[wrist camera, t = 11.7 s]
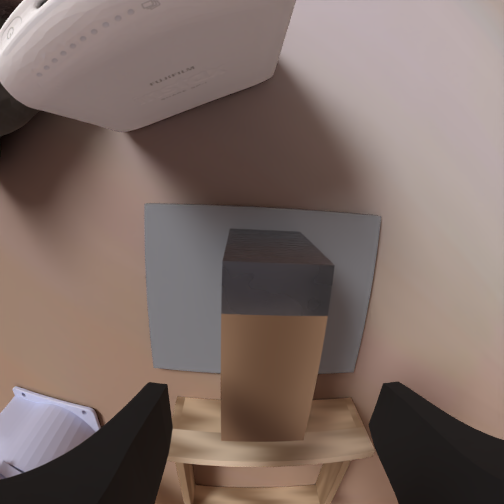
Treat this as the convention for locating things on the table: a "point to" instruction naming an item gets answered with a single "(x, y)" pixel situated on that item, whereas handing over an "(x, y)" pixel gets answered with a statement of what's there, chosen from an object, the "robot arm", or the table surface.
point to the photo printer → (137, 55)
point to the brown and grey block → (271, 333)
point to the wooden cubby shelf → (266, 452)
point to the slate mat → (210, 277)
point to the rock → (3, 103)
